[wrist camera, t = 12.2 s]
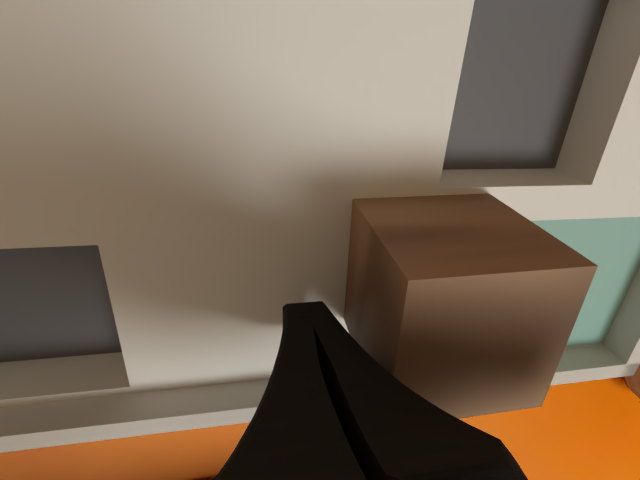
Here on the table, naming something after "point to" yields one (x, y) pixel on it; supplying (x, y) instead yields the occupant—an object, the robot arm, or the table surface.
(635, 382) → the donut
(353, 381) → the robot arm
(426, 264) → the walnut block
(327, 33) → the tray
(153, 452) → the table surface
